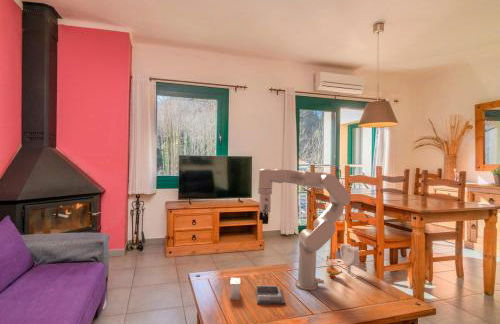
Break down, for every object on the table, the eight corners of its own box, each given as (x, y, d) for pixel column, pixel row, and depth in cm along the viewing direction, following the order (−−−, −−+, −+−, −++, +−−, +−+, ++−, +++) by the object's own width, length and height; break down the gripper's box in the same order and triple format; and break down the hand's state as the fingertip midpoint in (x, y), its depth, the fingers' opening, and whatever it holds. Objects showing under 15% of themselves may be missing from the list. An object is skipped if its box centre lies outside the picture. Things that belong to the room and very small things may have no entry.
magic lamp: (336, 285, 166) (337, 265, 165) (321, 272, 183) (321, 255, 183) (347, 284, 167) (348, 265, 167) (330, 271, 185) (331, 254, 185)
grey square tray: (281, 291, 155) (282, 285, 155) (285, 304, 141) (286, 297, 141) (255, 291, 155) (256, 284, 155) (257, 304, 141) (257, 297, 141)
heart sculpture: (338, 269, 189) (339, 242, 189) (345, 269, 190) (346, 241, 190) (352, 279, 174) (353, 249, 174) (359, 278, 175) (360, 249, 175)
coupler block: (239, 293, 152) (240, 277, 152) (239, 299, 145) (240, 283, 145) (230, 292, 152) (230, 277, 152) (229, 299, 145) (230, 283, 145)
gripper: (275, 193, 153) (273, 225, 153) (268, 189, 170) (267, 218, 170) (261, 192, 152) (259, 225, 152) (256, 189, 169) (254, 218, 169)
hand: (263, 221), depth 161 cm, fingers open, 9 cm apart
